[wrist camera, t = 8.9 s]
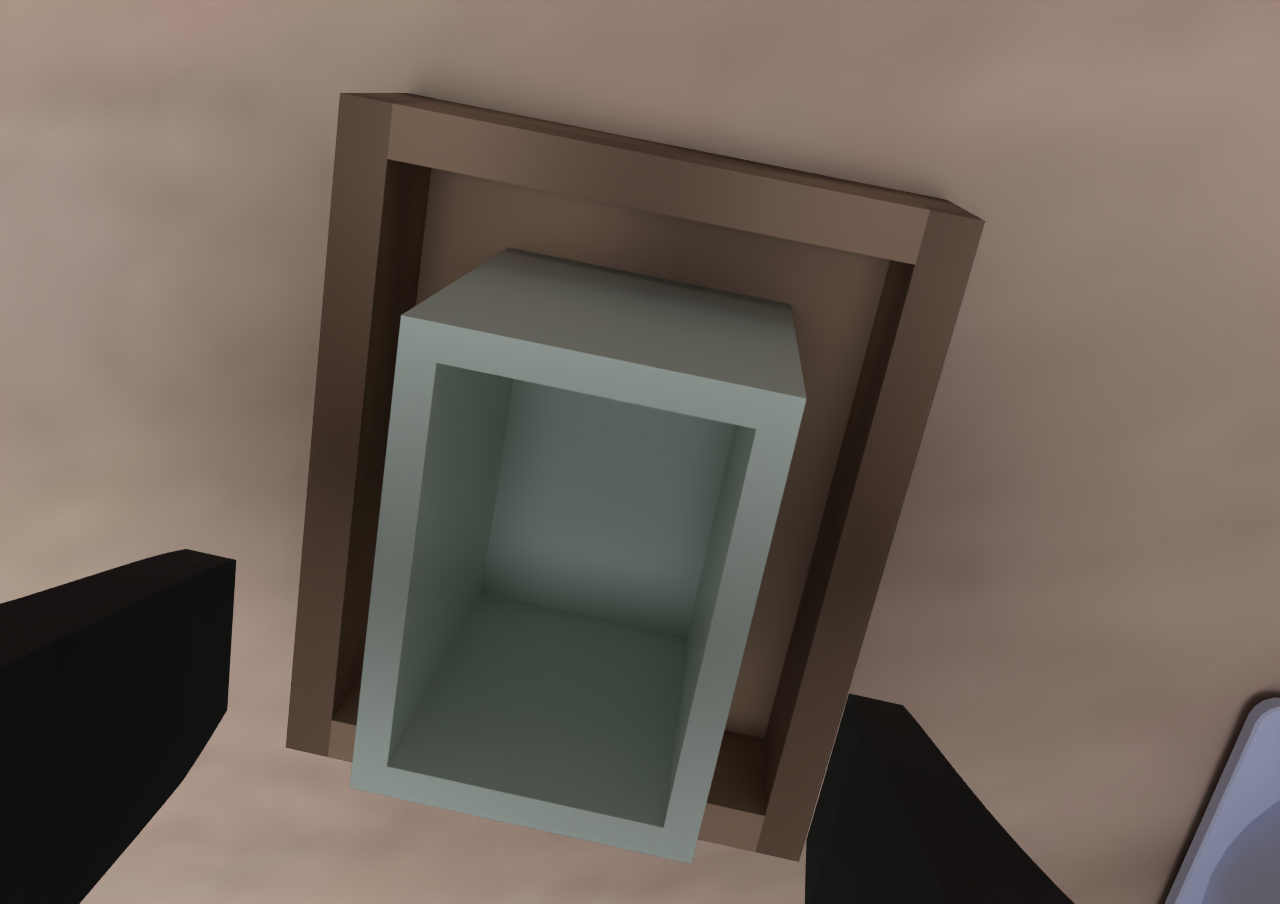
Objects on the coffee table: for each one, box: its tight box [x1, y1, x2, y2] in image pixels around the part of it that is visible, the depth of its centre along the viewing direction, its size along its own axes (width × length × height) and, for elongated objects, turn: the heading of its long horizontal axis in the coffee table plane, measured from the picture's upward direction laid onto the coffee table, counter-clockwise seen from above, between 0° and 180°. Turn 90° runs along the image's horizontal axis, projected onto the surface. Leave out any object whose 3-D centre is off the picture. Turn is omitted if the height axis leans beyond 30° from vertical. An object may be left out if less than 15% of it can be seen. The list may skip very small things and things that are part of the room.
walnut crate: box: [286, 93, 985, 862], centre depth 19 cm, size 10×12×3 cm
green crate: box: [350, 247, 807, 864], centre depth 17 cm, size 5×7×6 cm
